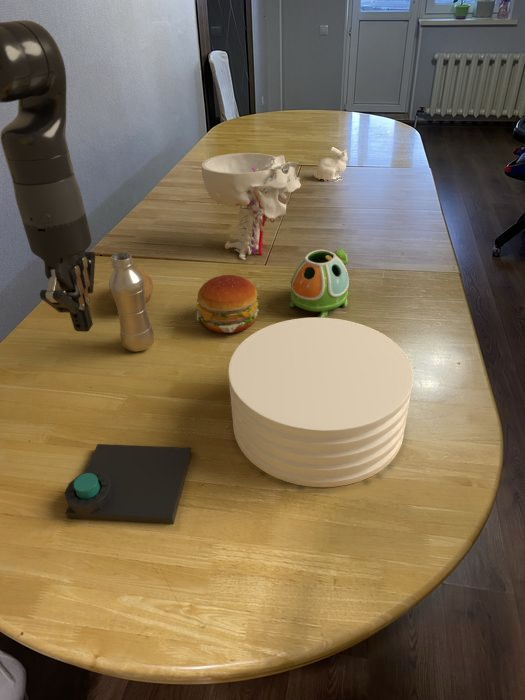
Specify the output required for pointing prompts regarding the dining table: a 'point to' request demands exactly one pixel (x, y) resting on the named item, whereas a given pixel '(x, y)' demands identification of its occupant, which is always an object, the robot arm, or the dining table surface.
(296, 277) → the turtle holder
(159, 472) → the scale
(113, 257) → the plastic bottle
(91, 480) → the button
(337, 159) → the rabbit
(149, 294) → the potato
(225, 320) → the burger
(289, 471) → the plate stack
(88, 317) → the robot arm
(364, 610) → the dining table surface
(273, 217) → the skull
